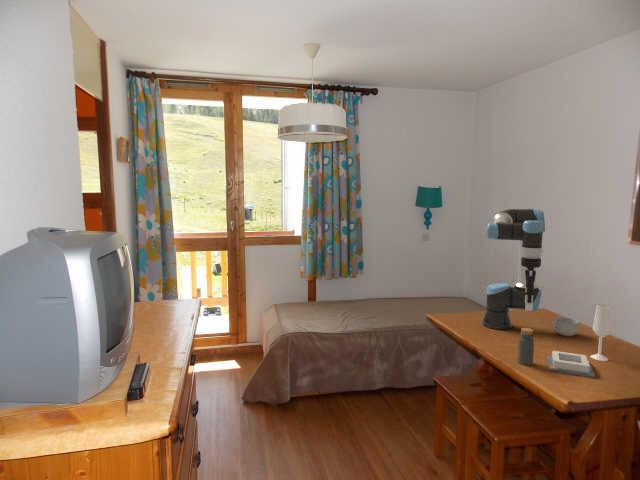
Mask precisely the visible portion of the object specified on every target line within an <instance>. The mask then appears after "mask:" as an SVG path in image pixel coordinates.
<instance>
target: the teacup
mask: <svg viewBox="0 0 640 480" xmlns="http://www.w3.org/2000/svg"><path fill="white" fill-rule="evenodd" d="M579 324H580V321H579V320H577V319H575V318H572V317H568V316H556V317H555V319H554V320H551V322H550V324H549V325H550V327H551V329H553V330H554V331H556V332H557V333H558V334H559V335H561V336H565V337H573V336H575V335H576V334H577V333H578V330H579Z"/></svg>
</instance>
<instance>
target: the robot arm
mask: <svg viewBox="0 0 640 480" xmlns="http://www.w3.org/2000/svg"><path fill="white" fill-rule="evenodd" d="M545 220H546V219H545V213H544V211H543V210H541V209H538V208H537V209H535V208H509V209H508V208H507V209H505V210H502V211H499V212H498V213H496V214H495V215H493V218H492V222H488V223H487V226H486V238H487V239H488V240H494V241H495V240H499V241H500V240H501V241H502V240H503V241H504V240H505V241H519V251H518V252H519V253H518V272H517V273H518V274H517V282H515V283H514V287H513V286H511V285H510V284H509V283H503V282H502V283H501V282H499V283H491V284H490V285H488V286H487V287H486V303H485V304H486V305H485V312H484V315H483V316H482V319H481V324H482V326H484V327H486V328H488V329H493V330H494V329H495V330H509V329H512V320H511V316H510V313H509V311H510V309H512V310H522V311H527V312H529V311H530V312H533V311H534V312H536V311H538V309H539V307H540V303H541V298H542V290H541V289H539V288H540V287H539V285H538V284H537V283H536V281H537V268H541V266H542V259H541V257H542V253H543V252H544V250H543V249H542V248H543V246H542V245H543V233H545V232H546V221H545Z"/></svg>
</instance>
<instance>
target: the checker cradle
mask: <svg viewBox="0 0 640 480" xmlns="http://www.w3.org/2000/svg"><path fill="white" fill-rule="evenodd" d="M546 358H547V363H548V370H549V372H553V373H554V372H555V373H559V374H561V373H562V374H566V375H573V376H578V377H586V378H591V379H595V378H596V375H595V373H594V370H593V367H592V365H591V363H590V361H589V360H588V358H587V355H586V354H578V353H574V352H573V353H572V352H571V353H570V352H564V351H559V350H558V351H557V350H552V353H551V355H547V356H546Z"/></svg>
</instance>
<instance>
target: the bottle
mask: <svg viewBox="0 0 640 480" xmlns="http://www.w3.org/2000/svg"><path fill="white" fill-rule="evenodd" d="M520 331H521V332H520V334H519V335H520V337H519V339H518V353H517V362H518V364H520V365H523V366H532V365H533V363H534V349H535V340H534V338H533V337H534V329H532V328H530V327H523V328H522V327H521V328H520Z"/></svg>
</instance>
